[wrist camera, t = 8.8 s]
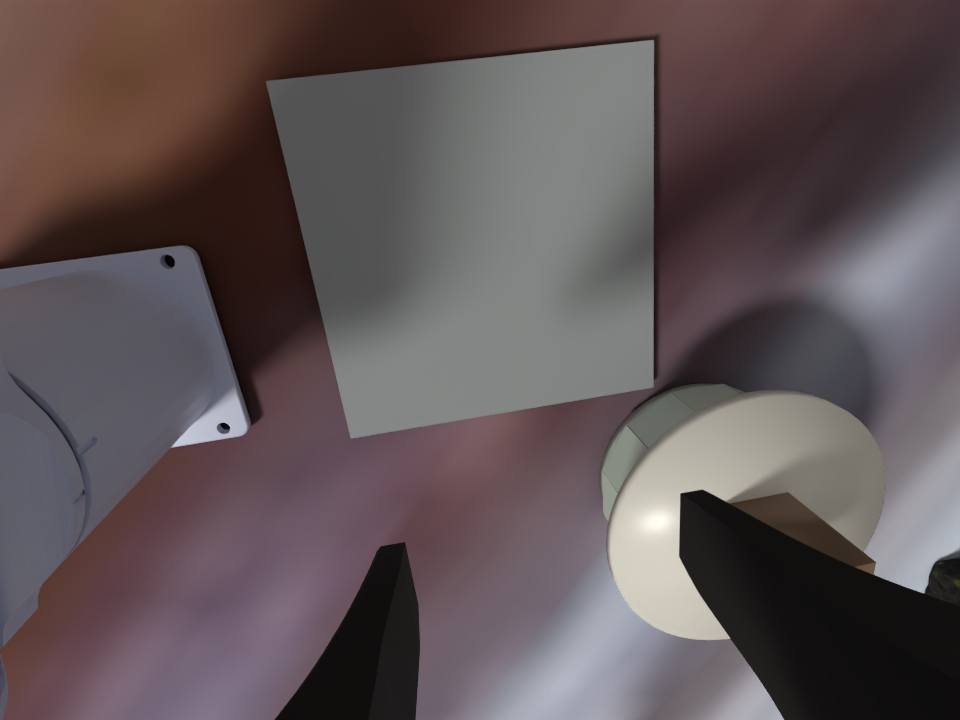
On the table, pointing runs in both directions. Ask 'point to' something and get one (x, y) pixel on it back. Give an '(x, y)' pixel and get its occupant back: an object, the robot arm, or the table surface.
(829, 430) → the lid
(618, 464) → the bowl
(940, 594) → the candle
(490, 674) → the table surface
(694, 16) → the table surface
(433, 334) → the mat
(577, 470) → the table surface
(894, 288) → the table surface
